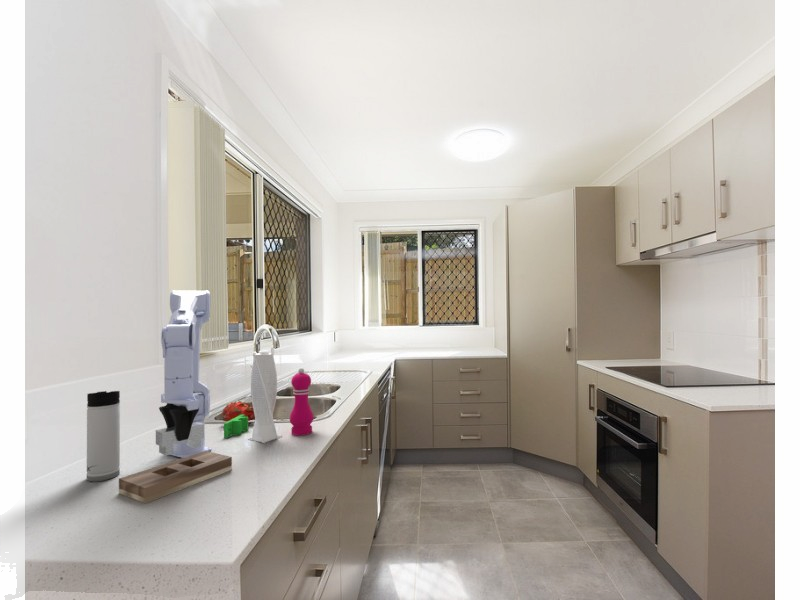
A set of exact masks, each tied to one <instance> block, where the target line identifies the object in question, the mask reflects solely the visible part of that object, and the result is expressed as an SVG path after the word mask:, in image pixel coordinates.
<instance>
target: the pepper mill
mask: <svg viewBox="0 0 800 600" xmlns="http://www.w3.org/2000/svg"><path fill="white" fill-rule="evenodd" d="M297 371H298V373H296V374H294V375H293V376H292V377H291V382H290V383H291V386H292V388H293V392H292V393H293V395H294V404H293V407H292V410H291V412H290V414H289V415H290V416H289V422H290V424H291V435H292V436H307V435H309V434H312V433H313V426H312V425H311V424H312V423H313V421H314V412H313V410H312V408H311V406H310V403H309V394H310V386H311V384H312V378H311V376H310V375H309V374H308V373H305V370H304V368H303V367H300V368H298V370H297Z"/></svg>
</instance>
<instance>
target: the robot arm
mask: <svg viewBox="0 0 800 600" xmlns="http://www.w3.org/2000/svg"><path fill="white" fill-rule="evenodd" d="M169 309H170V312H171V315H170V317H169V321H168V324H167V325H166V326H163V327H162V329H161V333H160V334H161V337H160V341H161V347H162V357H163V358H164V367H163V368H164V379H163V380H164V382H163V383H164V392H163V393H161V395H160V399H161V400H160V403H163V404H165V405H164V406H163V405H162V406H159V407H158V409H159V412H160V413H161V415H162V416H163V419H164V421H165V425H166V428H169V427H174V426H175V429H176V437H177V440H178V441H182V440H186V439H188V438H189V435H190V431H191V427H192V423H193V422H200V423H203V424H204V425H205V418H206V417H208V416H209V414H210V411H211V395H210V389H209V387H208V386H207V385H206V384H204V383H203V382H201V381H200V360H201V359H200V355H201V353H200V351H201V330H202V327H203V324H205V323H207V322H209V321H210V317H211V292H210V291H209V290H208V289H207V290H176V289H172V291H171V292H170V294H169ZM205 435H206V434H205V430H204V437H202V438H201V447H197V448H192V447H190V446H187V441H185V442H181V443H177V444H174V454H170V455H169V456H174V457H177V458H180V459H181V458H184V457H187V456H190V455H194V454H197V453H200V452H203V451H209V452H211V451H212V449H213V448H212V447H209V446H205Z"/></svg>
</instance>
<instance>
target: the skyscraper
mask: <svg viewBox="0 0 800 600" xmlns="http://www.w3.org/2000/svg"><path fill="white" fill-rule="evenodd" d="M274 355H275V347H274V346H273V345H271V347H270V350H259V351H258V353H257V351H253V352H252V356H253V361H252V367H251V376H250V396H251V403H252V408H253V410H254V414H255V420H254V424H253V430H252V435H251V438H248V439H247V441H251V442H255V441H256V442H255V443H260V442H261V444H266V443H268V441H269V442H271V440H272V441H274V439H275V440H278V439H281V438H283V436H281V435H278V433H277V429H276V425H275V421H274V417H273V415H274V410H275V407H276V400H277V394H278V393H277V392H278V376H277V375H278V374H277V367H276V362H275V358H274ZM280 437H281V438H280ZM265 442H266V443H265Z"/></svg>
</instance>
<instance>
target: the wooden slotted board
mask: <svg viewBox="0 0 800 600" xmlns="http://www.w3.org/2000/svg"><path fill="white" fill-rule="evenodd" d="M232 464H233V458H232V456H228V455H225V454H220V453H216V452H213V451H203V452H200V453H197V454H194V455H190V456H187V457H184V458H181V457H180V458H178V459H176V460H172V461H169V462H166V463H163V464H160V465H157V466H156V465H155V466H154V467H150V468H148V469H144V470H141V471H138V472H136V473H135V472H134V473H132V474H129V475H126V476H123V477H120V478H118V494H120V495H122V496H124V497H128V498H129V499H130V498H131V499H133V500H136V501H138V502H139V503H140V502H141V503H143V504H149V503H150V502H153V501H155V500H157V499H161V498H163V497H165V496H168V495H171V494H173V493H175V492H179V491H181V490H183V488H184V489H186V488H189V487H191V486H194V485H196V484H199V483H201V482H203V481H206V480H209V479H211V478H214V477H216V476H219V475H221V474H224V473H227V472H230V471H232V470H233V469H232V467H233V465H232ZM188 486H189V487H188ZM180 489H181V490H180ZM178 490H179V491H178Z"/></svg>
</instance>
